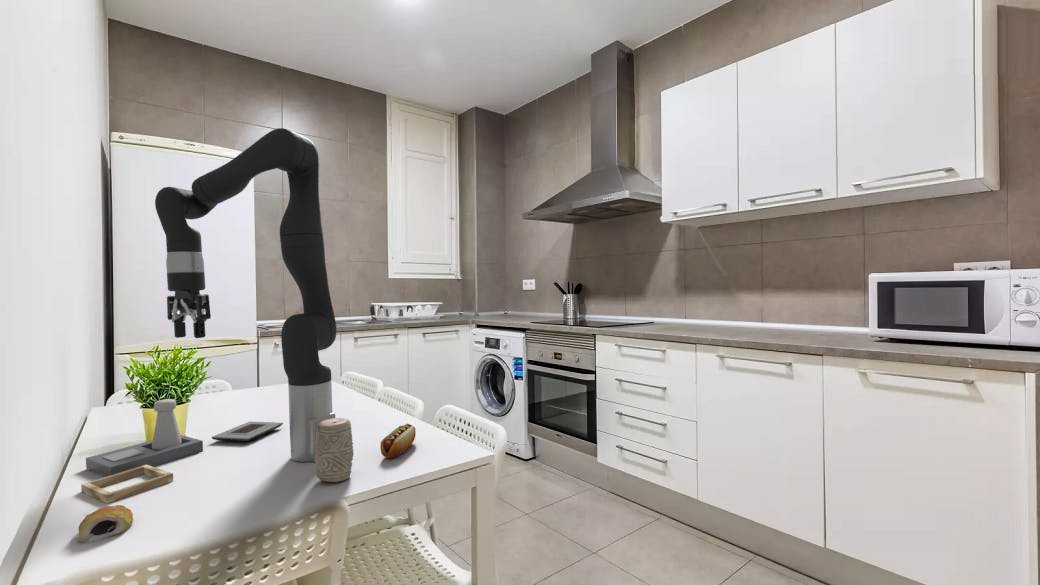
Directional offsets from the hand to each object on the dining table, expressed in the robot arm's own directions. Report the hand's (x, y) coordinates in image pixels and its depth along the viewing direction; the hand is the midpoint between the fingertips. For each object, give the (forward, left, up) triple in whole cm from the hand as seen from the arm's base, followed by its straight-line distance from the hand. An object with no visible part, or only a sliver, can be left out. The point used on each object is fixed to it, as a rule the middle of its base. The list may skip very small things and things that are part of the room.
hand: (189, 337), depth 116 cm
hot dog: (-48, -21, -28) cm, 59 cm away
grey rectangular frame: (+2, +9, -28) cm, 29 cm away
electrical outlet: (-3, -12, -28) cm, 31 cm away
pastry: (-28, +28, -28) cm, 48 cm away
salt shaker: (+2, +5, -28) cm, 28 cm away
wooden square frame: (-11, +18, -28) cm, 35 cm away
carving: (-47, -3, -28) cm, 54 cm away
